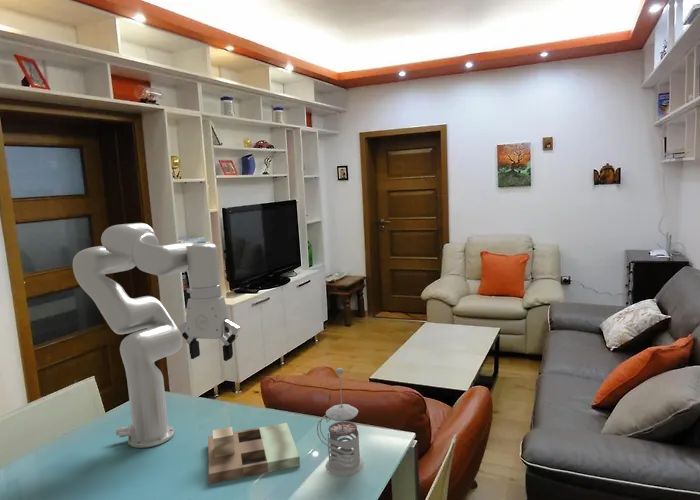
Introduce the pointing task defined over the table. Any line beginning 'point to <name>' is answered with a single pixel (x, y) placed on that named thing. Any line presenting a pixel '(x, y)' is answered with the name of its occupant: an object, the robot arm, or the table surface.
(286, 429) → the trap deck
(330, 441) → the french press
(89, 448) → the table surface
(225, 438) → the maple block
